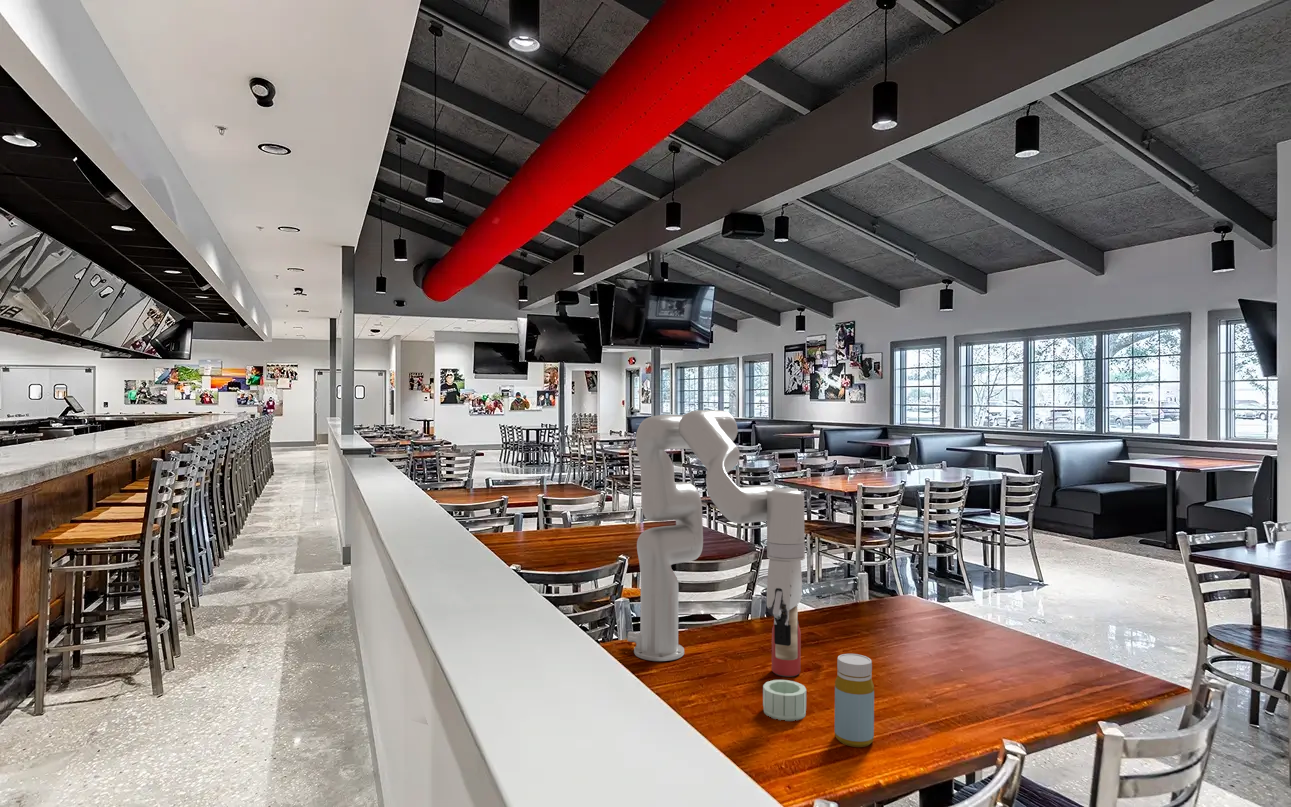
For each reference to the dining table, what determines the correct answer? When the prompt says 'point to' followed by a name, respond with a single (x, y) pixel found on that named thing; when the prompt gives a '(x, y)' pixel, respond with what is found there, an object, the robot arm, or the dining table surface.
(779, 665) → the beer can
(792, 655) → the plug
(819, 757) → the dining table surface
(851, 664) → the bottle
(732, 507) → the robot arm
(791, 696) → the cup
